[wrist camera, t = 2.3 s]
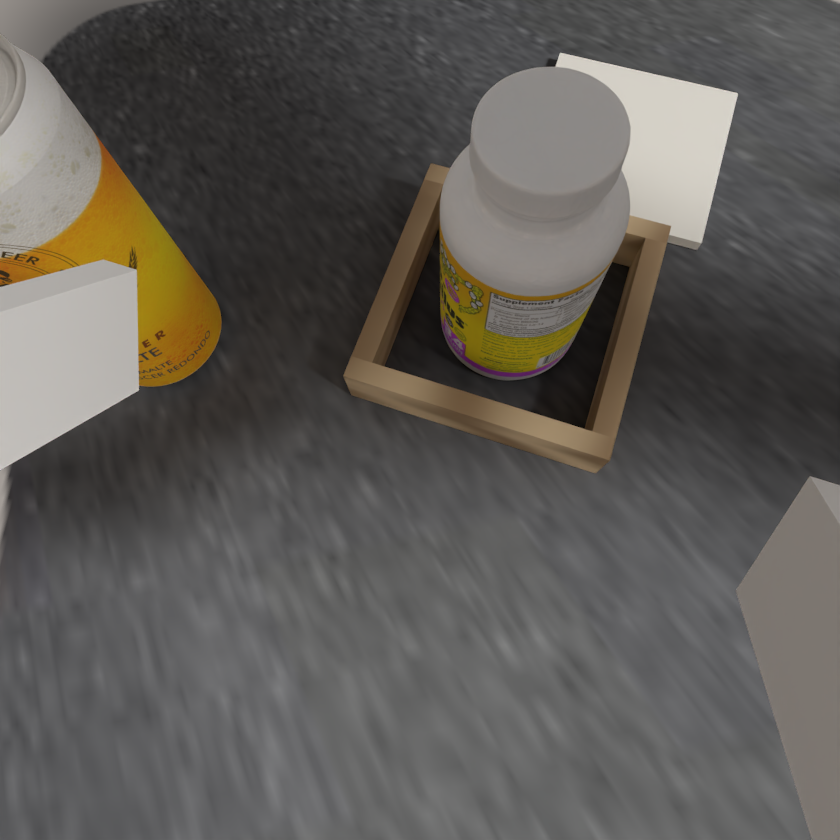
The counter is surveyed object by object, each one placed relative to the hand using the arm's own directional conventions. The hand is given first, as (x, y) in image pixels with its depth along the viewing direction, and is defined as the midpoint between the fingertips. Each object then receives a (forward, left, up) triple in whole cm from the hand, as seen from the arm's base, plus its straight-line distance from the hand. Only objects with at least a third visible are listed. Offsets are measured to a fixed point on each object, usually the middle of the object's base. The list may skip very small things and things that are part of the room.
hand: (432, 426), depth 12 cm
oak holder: (0, -11, -16) cm, 19 cm away
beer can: (+16, -5, -16) cm, 23 cm away
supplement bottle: (0, -11, -16) cm, 19 cm away
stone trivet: (-3, -23, -16) cm, 28 cm away
